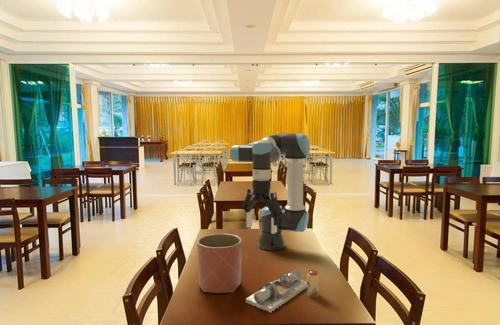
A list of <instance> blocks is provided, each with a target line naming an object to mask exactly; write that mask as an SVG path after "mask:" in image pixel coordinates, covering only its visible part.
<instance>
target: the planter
mask: <svg viewBox="0 0 500 325" xmlns="http://www.w3.org/2000/svg"><path fill="white" fill-rule="evenodd" d="M242 244H243V240H242V238H241V237H240V236H239V235H236V234H232V233H211V234H207V235H203V236H201V237H199V238H198V239H197V241H196V250H197V251H196V252H197V254H196V255H197V267H198V268H197V269H198V285H199V288H201V291H202V292H203V293H213V294H226V293H233V292H235V291H236V290H237V289H238V287H240V285H241V281H242V250H243V245H242Z"/></svg>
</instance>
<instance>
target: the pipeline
mask: <svg viewBox="0 0 500 325" xmlns="http://www.w3.org/2000/svg"><path fill="white" fill-rule="evenodd" d="M301 277H302V274H301V271H300V270H298V269H295V270H292V271H291V272H290V273H283V274H281V275H280V277H279V278H278V279H275V280H273V281H270V282H267V283H265V285H264V286H262V289H260V290H258V291H256V292H255V293H252V294H251V295H250V296H248V297H246V298H245V303H247V304H249V305H252V306H254V307H255V306H256V307H255V308H258V309H260V310H262V309H263V310H262V311H265V310H266V311H265V312H267V311H268V313H269V312H270V314H271V313H273V312H274V311H275V309H276V308H277V309H279V308H280V307H281V306H282V304H283V305H284V304H285V303H287V302H288V301H290V300H292V299H293V298H295V296H297V295H298V294H300V293H301V292H302V291H303V292H304V291H305V290H307V280H303V279H301ZM279 306H280V307H279ZM277 309H276V310H277ZM272 311H273V312H272Z"/></svg>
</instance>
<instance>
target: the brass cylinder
mask: <svg viewBox="0 0 500 325" xmlns="http://www.w3.org/2000/svg"><path fill="white" fill-rule="evenodd" d="M306 282H307V288H306V296H307V297H309V298H313V299H314V298H315V299H316V298H318V297H320V296H319V295H320V294H319V293H320V292H319V291H320V290H319V289H320V273H319V272H318V270H316V269H309V270H308V271H307V272H306Z"/></svg>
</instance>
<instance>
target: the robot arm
mask: <svg viewBox="0 0 500 325" xmlns="http://www.w3.org/2000/svg"><path fill="white" fill-rule="evenodd" d="M310 150H311V146H310V140H309V137H308V135H307V134H305V133H275V134H271V135H268V136H265V137H263V138H261V139H260V140H257V141H253V142H251V143H246V144H243V145H242V144H241V145H239V144H238V145H237V144H236V145H232V146H231V148H230V152H229V156H230V159H231V161H232V162H238V163H252V188H248V189H247V190H246V196H245V198H244V200H243V203H242V207H241V210H242V211H244V212H245V220H246V228H250V227H253V211H252V209H254V208H253V207H254V206H255V205H256V204H257V203H258V202H260V203H264V204H265V205H266V206H264V207H263V208H262V209H261V215H260V217H261V218H260V219H261V228H260V229H261V233H260V237H259V238H258V242H257V244H258V248H259V249H260V250H261V249H262V250H264V251H279V250H282V249H284V248H285V246H286V245H285V240H284V236H283V231H288V232H295V233H298V232H299V233H303V232H306V229H307V227H308V224H309V221H310V220H309V219H310V213H309V211H307V210H306V209H307V208H306V206H305V205H304V162H305V161H306V159H307V156H309V155H310V153H311V152H310ZM281 155H284V159H285V161H287V182H286V183H287V192H286V193H287V201H286V202H287V204H286V205H285V206H284V208H283V207H282V205H280V204H279V201H278V197H277V192H271V191H270V190H271V188H272V184H271V178H272V173H271V172H272V166H271V165H272V164H274V163H276V162H278V161H279V160H280V159H281Z"/></svg>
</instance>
